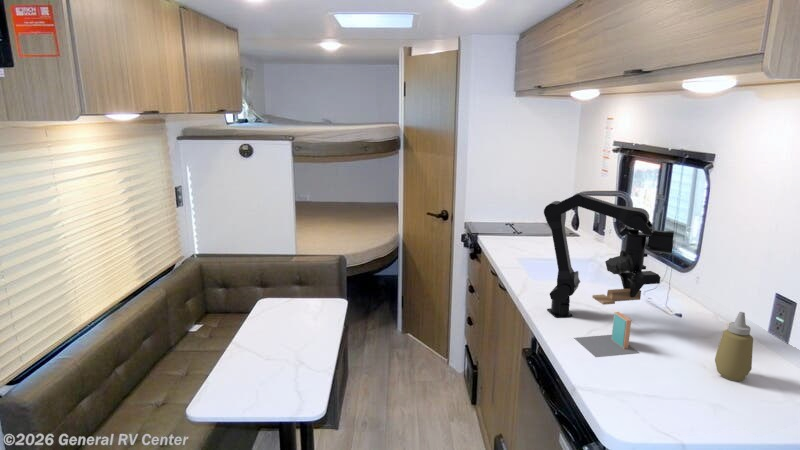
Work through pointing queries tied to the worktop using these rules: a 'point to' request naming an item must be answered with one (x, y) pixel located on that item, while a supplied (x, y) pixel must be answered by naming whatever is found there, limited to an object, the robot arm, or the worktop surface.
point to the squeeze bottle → (735, 350)
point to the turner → (616, 296)
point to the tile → (621, 330)
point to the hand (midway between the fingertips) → (629, 295)
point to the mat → (604, 346)
